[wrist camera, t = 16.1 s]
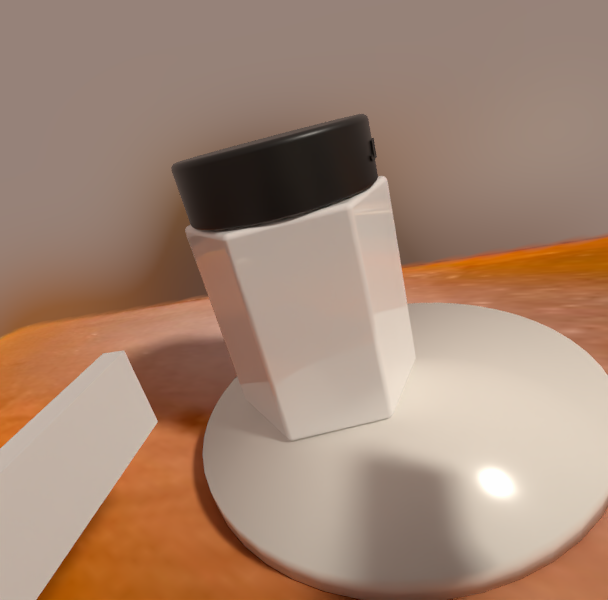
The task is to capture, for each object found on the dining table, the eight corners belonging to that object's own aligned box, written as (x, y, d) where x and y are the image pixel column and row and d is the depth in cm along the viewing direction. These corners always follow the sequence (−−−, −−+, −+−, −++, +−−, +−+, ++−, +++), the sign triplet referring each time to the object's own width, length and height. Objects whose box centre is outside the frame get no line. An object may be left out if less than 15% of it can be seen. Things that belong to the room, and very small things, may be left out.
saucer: (531, 298, 26) (531, 284, 26) (776, 608, 10) (784, 581, 10) (261, 337, 31) (257, 325, 30) (134, 599, 14) (123, 580, 14)
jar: (455, 374, 20) (422, 98, 15) (317, 474, 16) (220, 154, 12) (339, 325, 27) (294, 129, 23) (227, 387, 24) (145, 170, 19)
